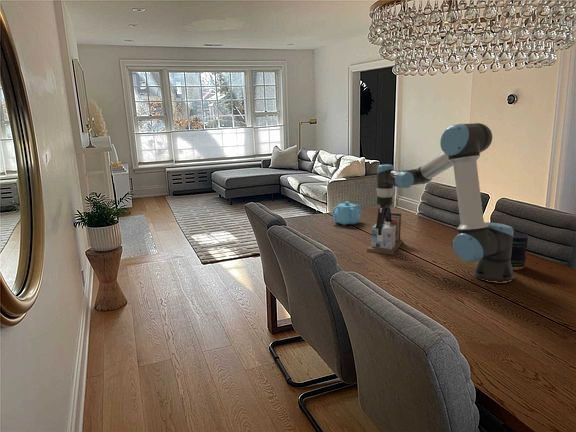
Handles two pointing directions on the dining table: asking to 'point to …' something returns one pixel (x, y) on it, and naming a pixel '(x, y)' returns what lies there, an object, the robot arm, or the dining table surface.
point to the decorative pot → (346, 213)
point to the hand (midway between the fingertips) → (383, 237)
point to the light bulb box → (384, 237)
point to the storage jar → (519, 249)
